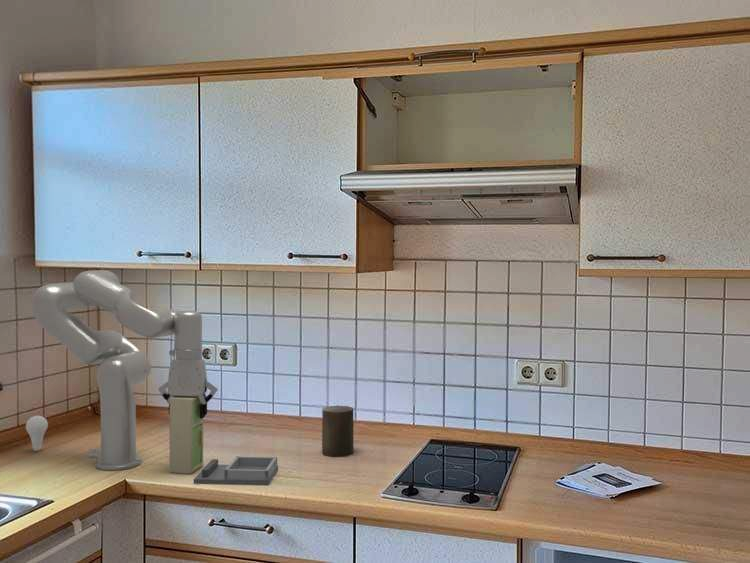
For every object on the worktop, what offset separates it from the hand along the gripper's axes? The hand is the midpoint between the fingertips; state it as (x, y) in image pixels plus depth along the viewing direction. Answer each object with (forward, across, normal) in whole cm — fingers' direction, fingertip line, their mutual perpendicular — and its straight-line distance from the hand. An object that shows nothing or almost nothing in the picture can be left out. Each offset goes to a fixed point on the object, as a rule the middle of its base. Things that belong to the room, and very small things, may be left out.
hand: (188, 416), depth 196 cm
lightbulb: (+16, -53, +16) cm, 57 cm away
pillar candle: (+15, +40, +20) cm, 47 cm away
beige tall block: (+15, 0, 0) cm, 15 cm away
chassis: (+15, +15, -5) cm, 22 cm away
